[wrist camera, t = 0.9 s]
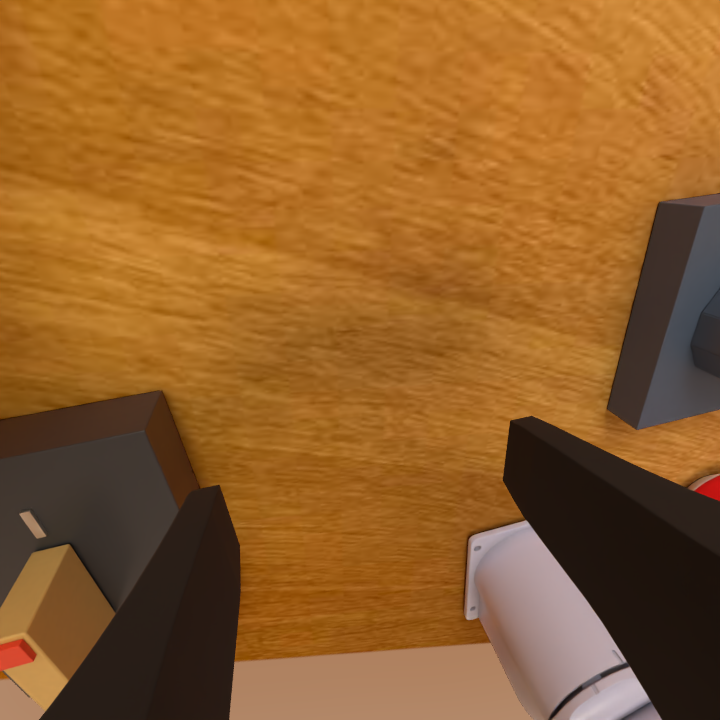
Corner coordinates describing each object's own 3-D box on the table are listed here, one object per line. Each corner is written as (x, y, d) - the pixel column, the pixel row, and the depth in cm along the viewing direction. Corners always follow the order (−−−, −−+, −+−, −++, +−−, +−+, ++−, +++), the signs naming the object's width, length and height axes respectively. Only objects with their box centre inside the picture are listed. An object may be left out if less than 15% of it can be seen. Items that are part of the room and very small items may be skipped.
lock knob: (117, 613, 18) (86, 712, 15) (84, 622, 18) (45, 724, 15) (70, 542, 16) (20, 641, 12) (31, 551, 16) (-28, 654, 12)
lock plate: (237, 585, 24) (235, 641, 21) (56, 634, 22) (26, 702, 19) (161, 389, 17) (143, 433, 14) (-105, 439, 15) (-184, 499, 13)
